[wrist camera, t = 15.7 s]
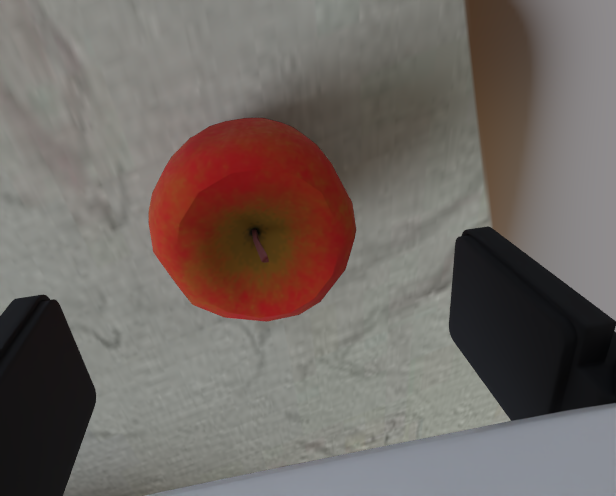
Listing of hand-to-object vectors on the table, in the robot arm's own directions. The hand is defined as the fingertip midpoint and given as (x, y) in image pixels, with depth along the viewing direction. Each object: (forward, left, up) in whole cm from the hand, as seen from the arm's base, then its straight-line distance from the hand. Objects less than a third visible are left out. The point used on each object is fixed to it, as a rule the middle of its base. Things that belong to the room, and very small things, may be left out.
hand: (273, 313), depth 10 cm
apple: (0, 0, -10) cm, 10 cm away
